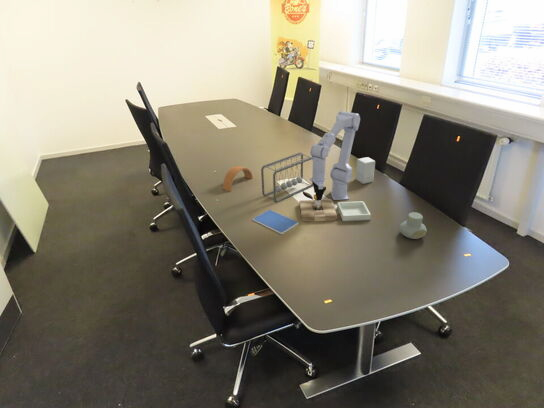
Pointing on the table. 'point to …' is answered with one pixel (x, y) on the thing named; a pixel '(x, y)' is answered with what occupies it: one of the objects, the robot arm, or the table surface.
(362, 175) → the supplement box
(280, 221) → the tablet computer
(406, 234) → the air freshener
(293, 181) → the newton's cradle
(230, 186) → the arch
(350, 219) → the tray
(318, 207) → the pin
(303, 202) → the pin plate
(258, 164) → the table surface
